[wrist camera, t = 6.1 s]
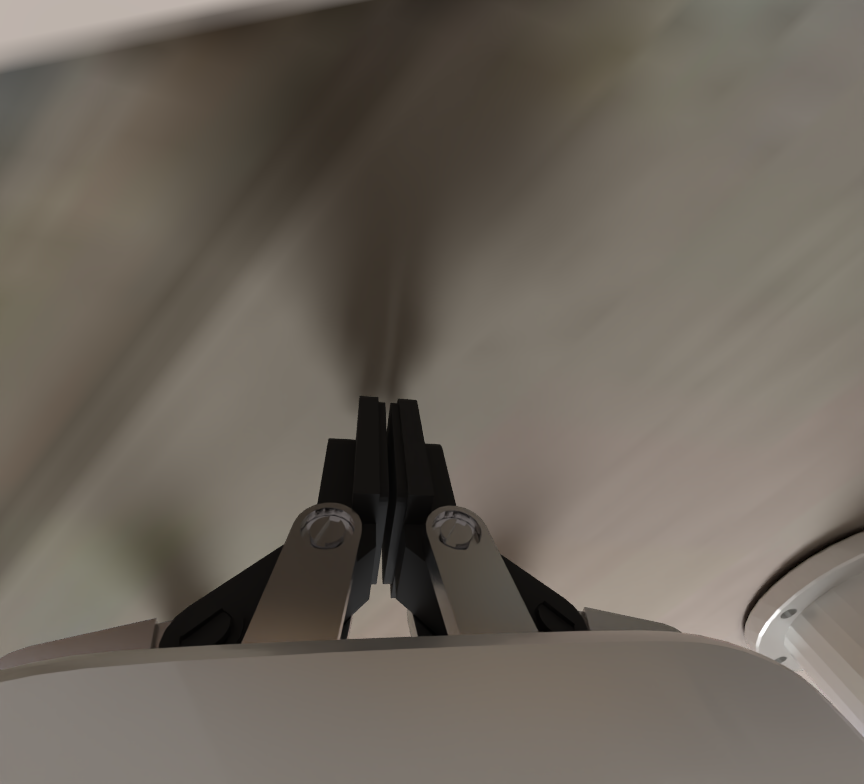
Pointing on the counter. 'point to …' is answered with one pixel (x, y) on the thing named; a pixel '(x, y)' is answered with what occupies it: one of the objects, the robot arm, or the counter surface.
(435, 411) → the counter surface
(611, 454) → the counter surface
